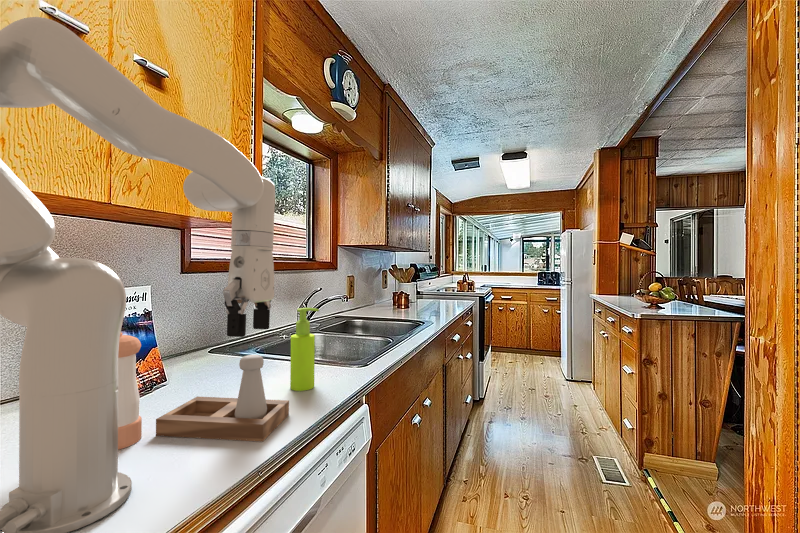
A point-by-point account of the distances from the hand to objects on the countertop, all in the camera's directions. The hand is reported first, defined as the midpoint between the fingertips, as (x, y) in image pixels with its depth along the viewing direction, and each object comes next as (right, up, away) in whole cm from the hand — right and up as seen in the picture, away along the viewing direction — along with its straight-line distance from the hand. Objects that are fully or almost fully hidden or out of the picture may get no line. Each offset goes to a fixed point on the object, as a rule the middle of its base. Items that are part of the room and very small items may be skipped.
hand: (249, 332), depth 73 cm
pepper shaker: (-21, -18, -6) cm, 28 cm away
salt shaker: (0, -18, 0) cm, 18 cm away
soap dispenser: (+4, -18, +24) cm, 31 cm away
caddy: (-5, -18, +1) cm, 19 cm away
